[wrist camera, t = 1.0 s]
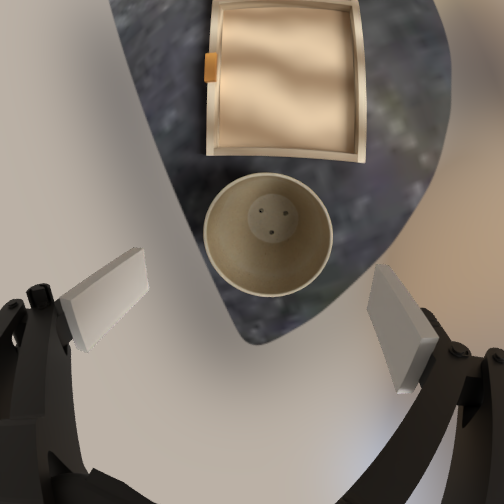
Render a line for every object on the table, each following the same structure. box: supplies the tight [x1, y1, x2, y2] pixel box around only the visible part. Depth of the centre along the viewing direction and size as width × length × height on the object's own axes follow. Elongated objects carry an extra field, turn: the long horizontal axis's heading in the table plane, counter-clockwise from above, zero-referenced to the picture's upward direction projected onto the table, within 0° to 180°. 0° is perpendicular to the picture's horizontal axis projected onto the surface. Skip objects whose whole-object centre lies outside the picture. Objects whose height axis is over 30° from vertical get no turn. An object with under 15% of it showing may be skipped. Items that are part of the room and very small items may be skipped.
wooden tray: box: [204, 0, 366, 163], centre depth 20 cm, size 22×15×3 cm
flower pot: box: [203, 173, 333, 297], centre depth 24 cm, size 10×10×7 cm
